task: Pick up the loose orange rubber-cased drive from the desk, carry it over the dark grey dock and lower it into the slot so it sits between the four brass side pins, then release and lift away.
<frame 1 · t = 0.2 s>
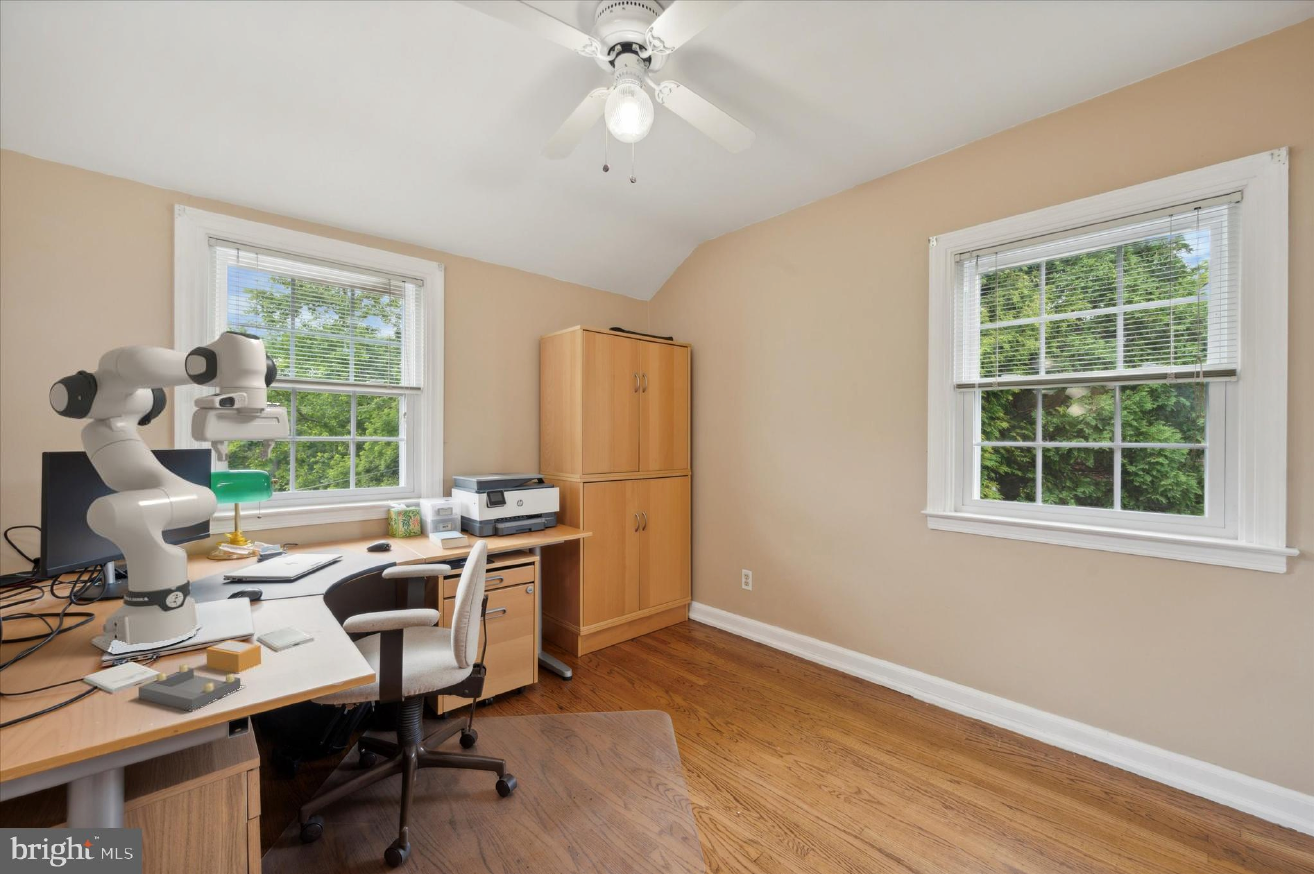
hand: (244, 459, 126), 47 cm above the table, tool pointing down, fingers open, 8 cm apart
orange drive: (234, 666, 123), on the table
hard drive: (285, 643, 137), on the table
dock: (196, 691, 111), on the table
external hard drive: (123, 682, 116), on the table
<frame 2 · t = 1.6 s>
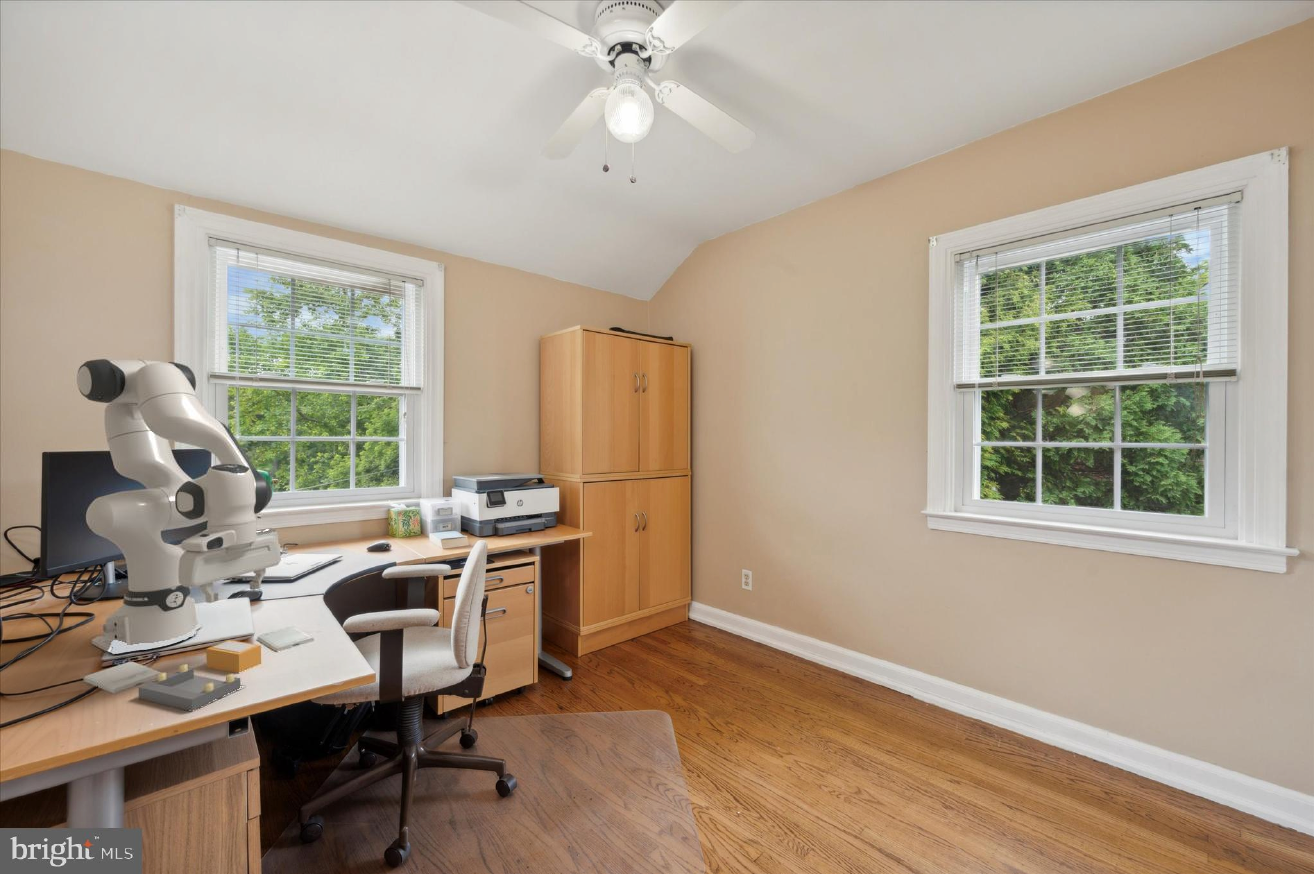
hand: (234, 595, 123), 16 cm above the table, tool pointing down, fingers open, 8 cm apart
nothing on the table moved.
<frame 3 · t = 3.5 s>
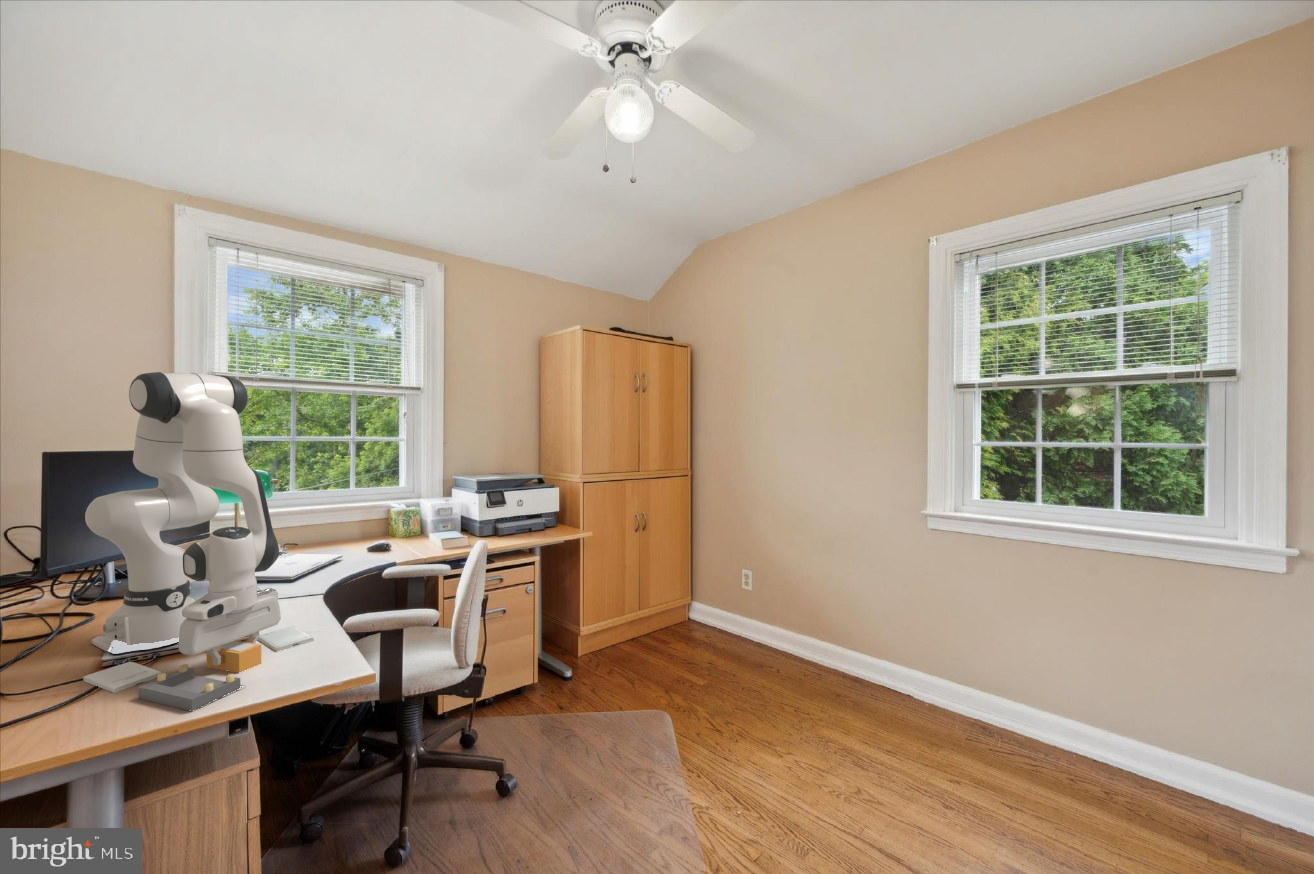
hand: (234, 658, 123), 2 cm above the table, tool pointing down, fingers closed on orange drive, 5 cm apart
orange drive: (234, 665, 123), on the table, touching gripper
everything else where it was.
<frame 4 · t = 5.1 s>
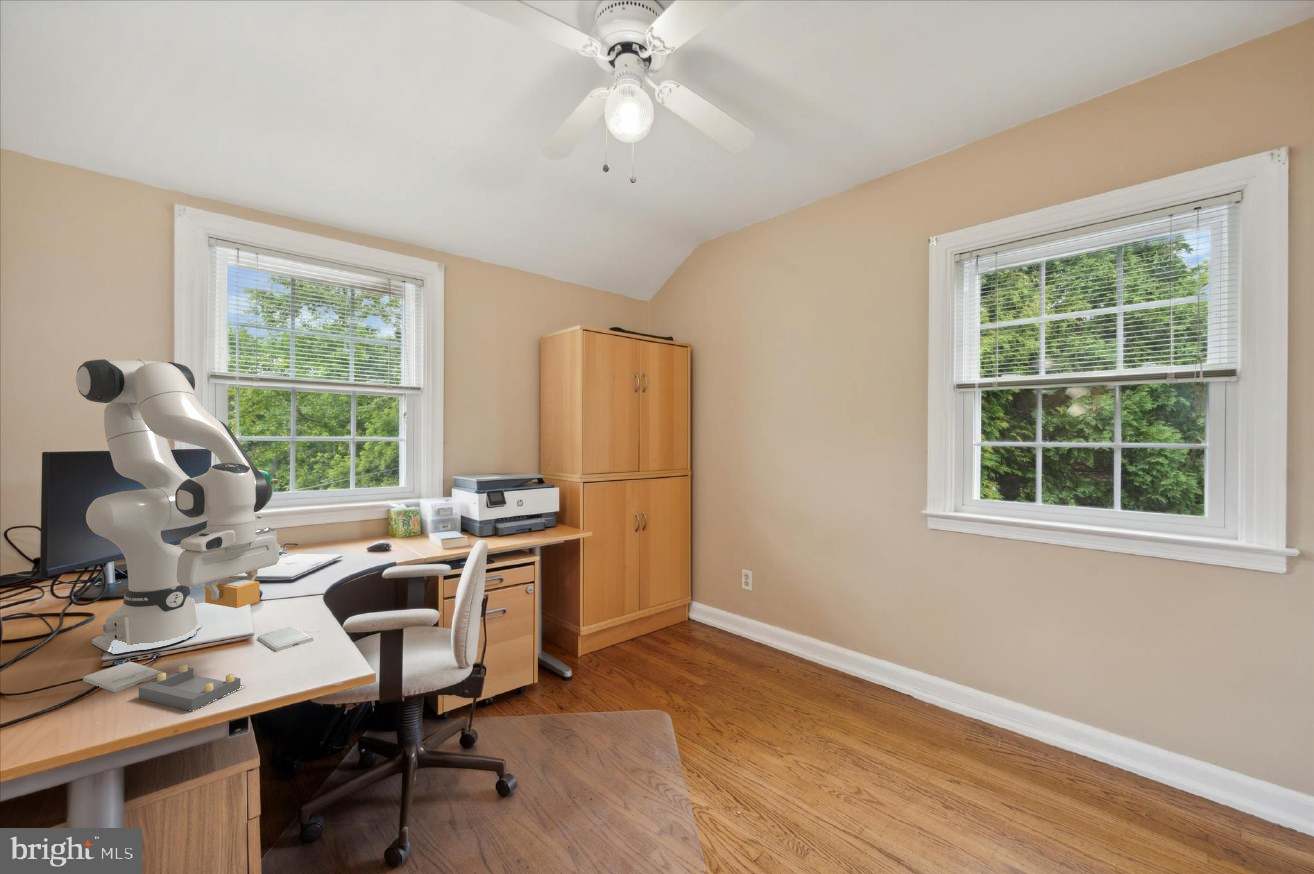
hand: (232, 594, 123), 16 cm above the table, tool pointing down, fingers closed on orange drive, 5 cm apart
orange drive: (232, 601, 123), point 15 cm above the table, touching gripper
everything else where it was.
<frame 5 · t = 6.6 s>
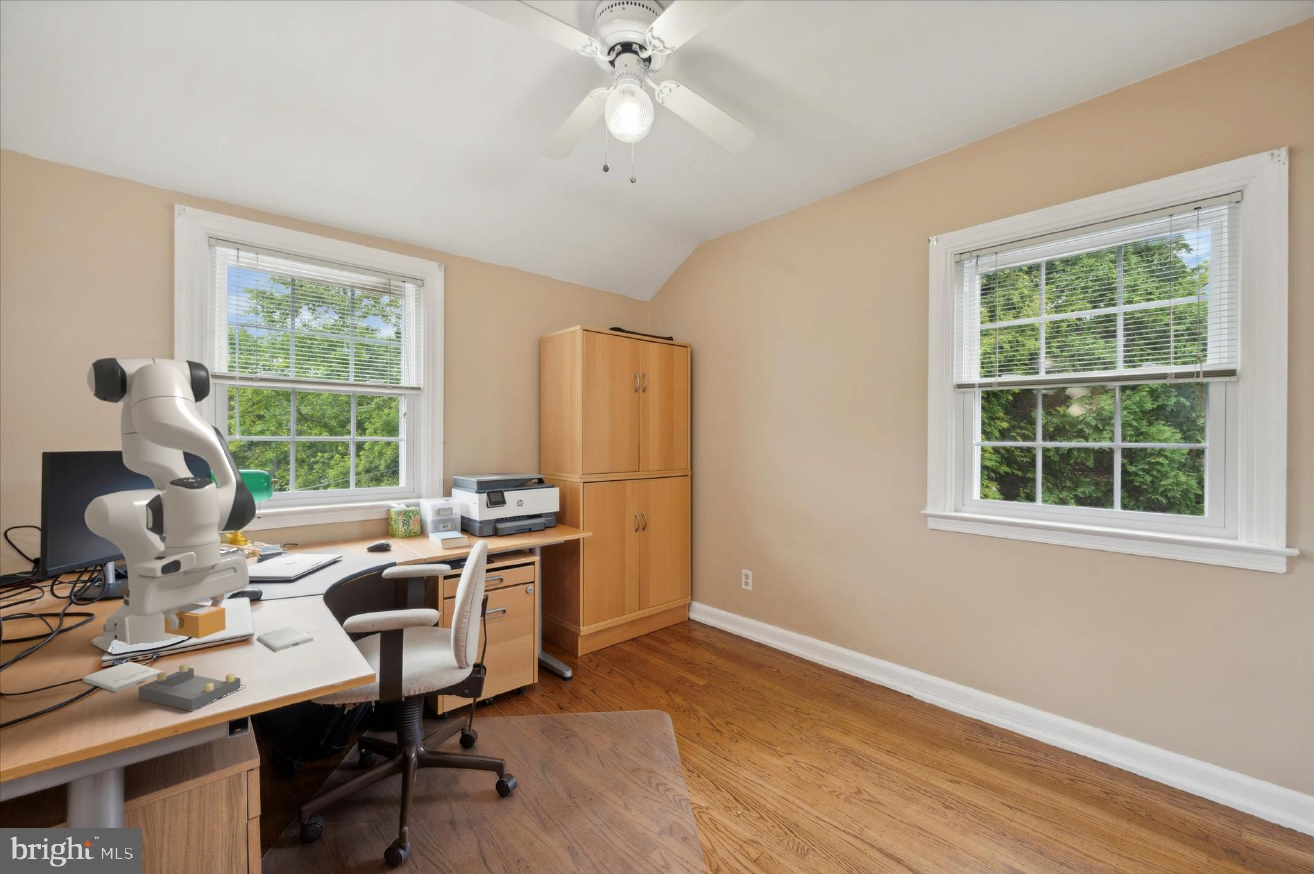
hand: (194, 622, 111), 15 cm above the table, tool pointing down, fingers closed on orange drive, 5 cm apart
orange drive: (195, 631, 111), point 13 cm above the table, touching gripper
everything else where it was.
when the fingers open (3 cm above the table, at t = 8.9 s): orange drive drops 1 cm, resting on dock.
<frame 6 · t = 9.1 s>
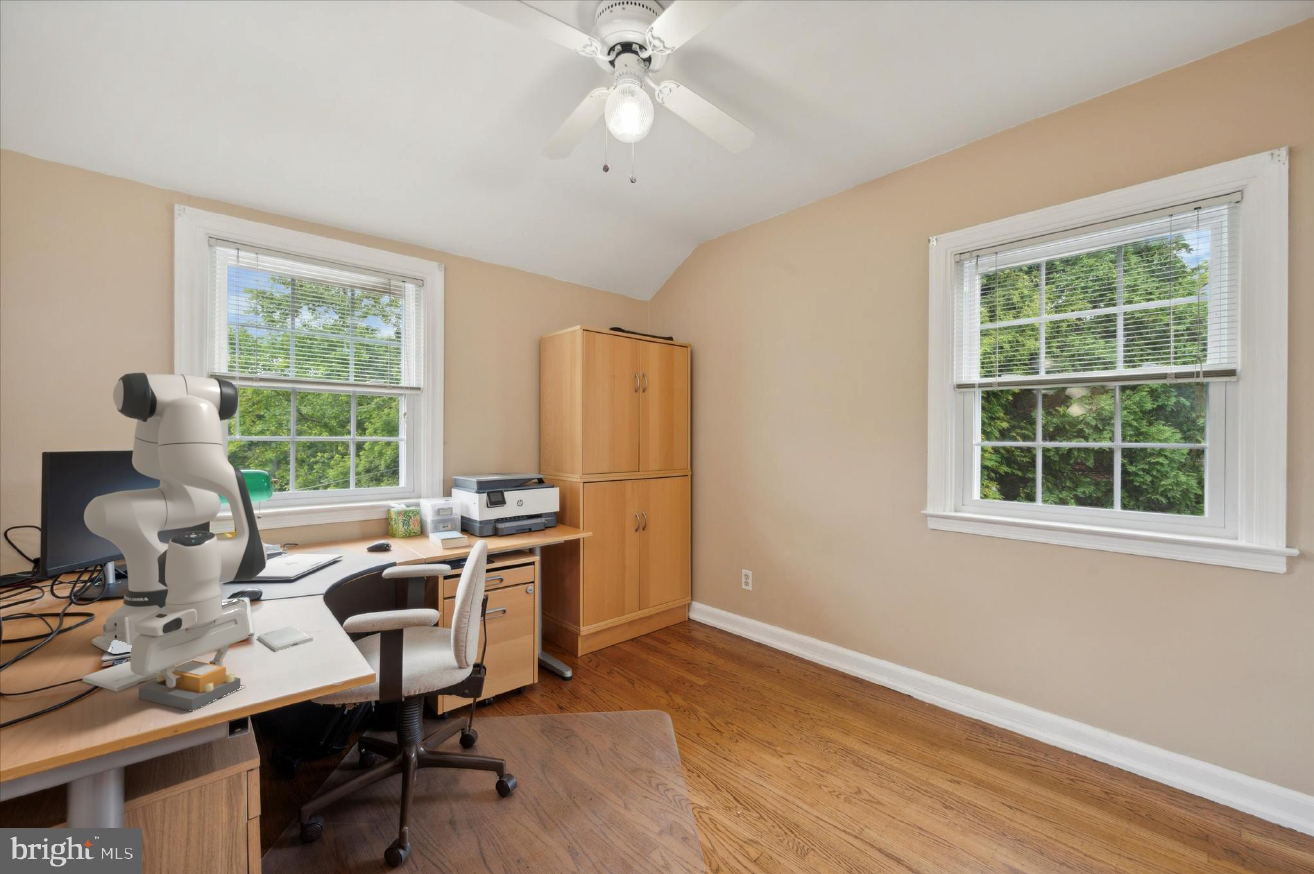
hand: (195, 677, 111), 3 cm above the table, tool pointing down, fingers open, 6 cm apart
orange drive: (196, 690, 111), resting on dock
everything else where it was.
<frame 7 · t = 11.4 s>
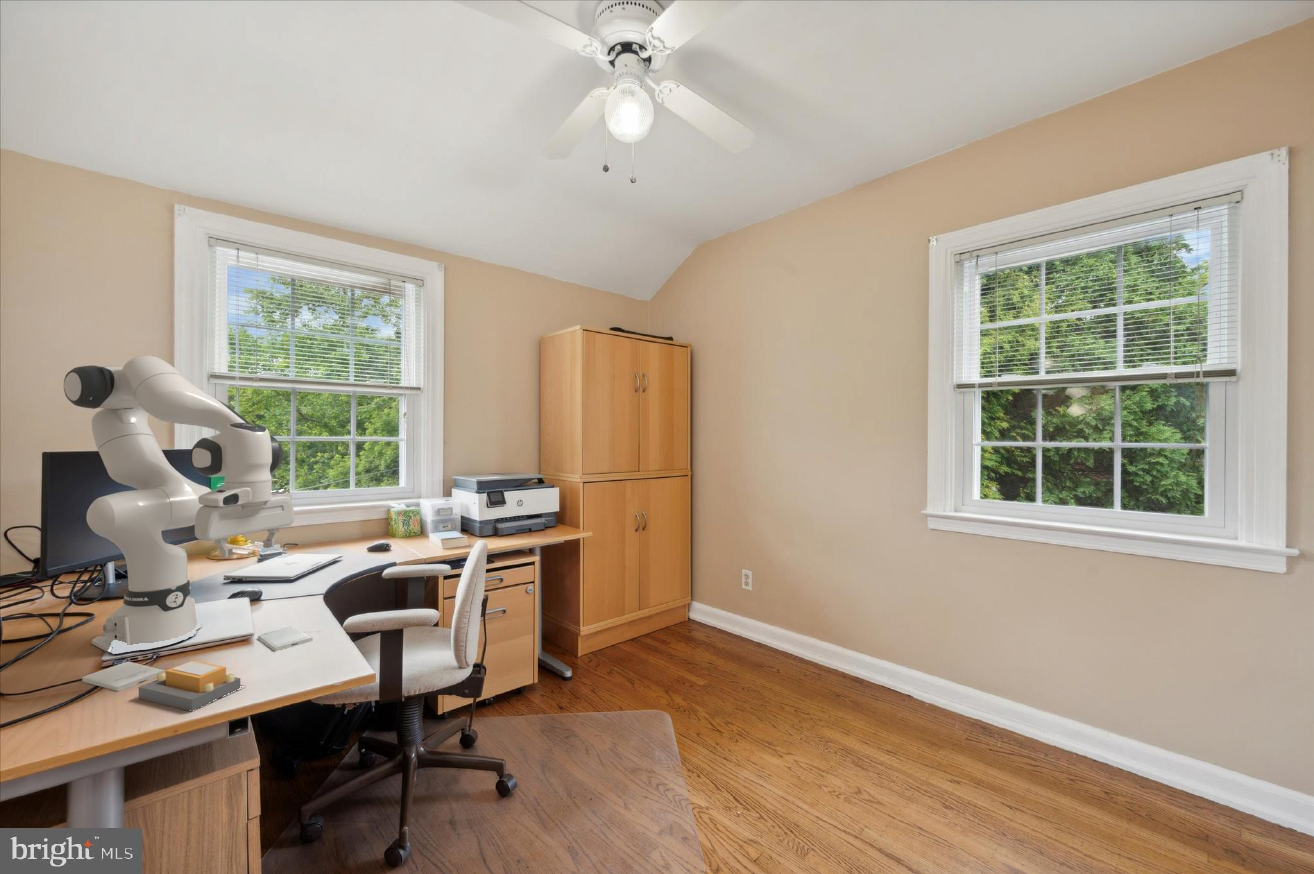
hand: (248, 551, 125), 26 cm above the table, tool pointing down, fingers open, 8 cm apart
nothing on the table moved.
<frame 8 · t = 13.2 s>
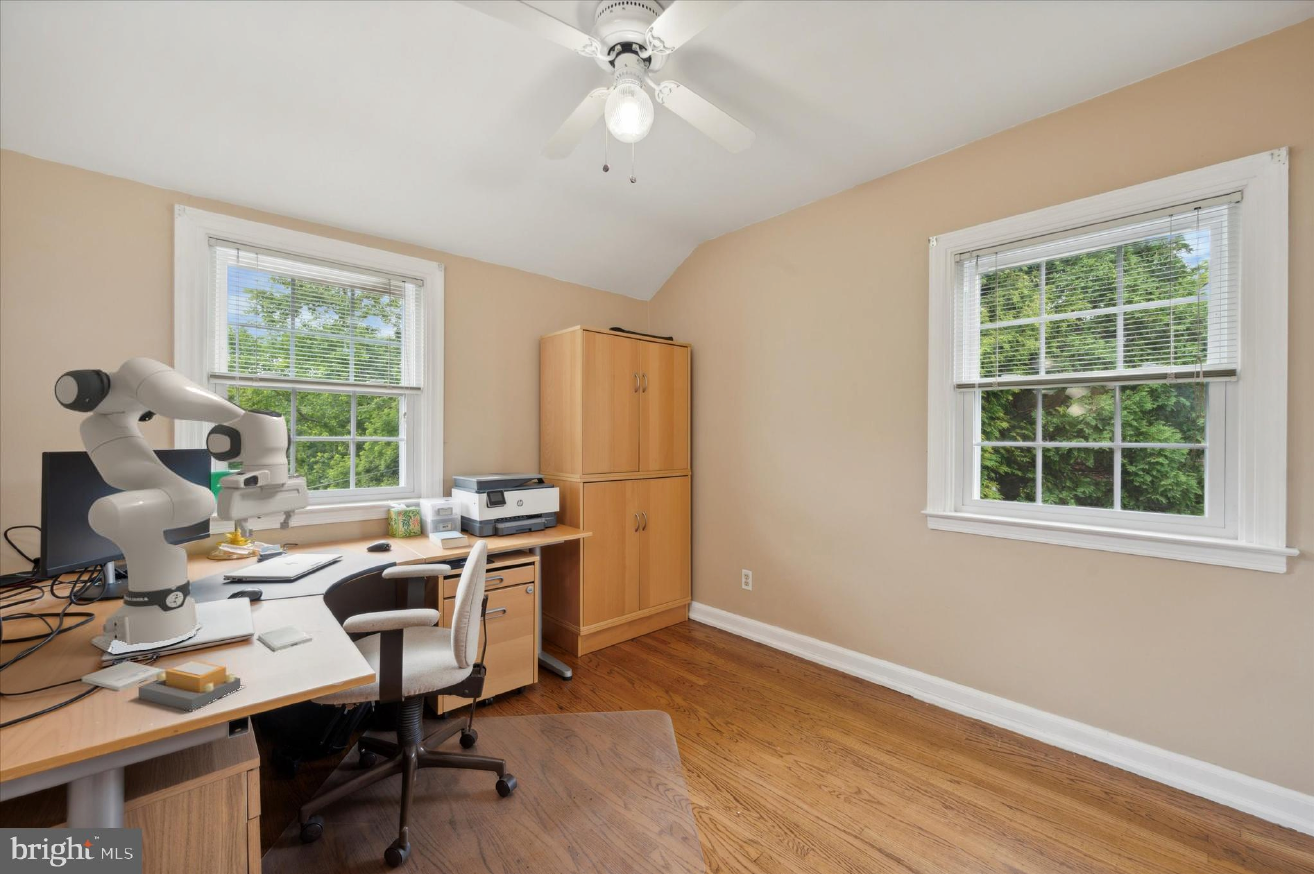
hand: (266, 533, 130), 29 cm above the table, tool pointing down, fingers open, 8 cm apart
nothing on the table moved.
at the end: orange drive 0.1 cm off-centre on the dock, point 0.3 cm above the dock's base; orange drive tilted 0°; the gripper is holding nothing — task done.
